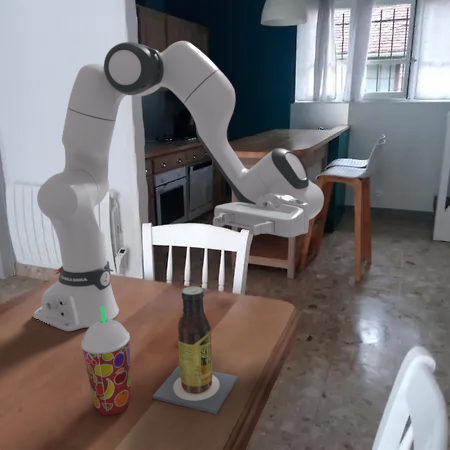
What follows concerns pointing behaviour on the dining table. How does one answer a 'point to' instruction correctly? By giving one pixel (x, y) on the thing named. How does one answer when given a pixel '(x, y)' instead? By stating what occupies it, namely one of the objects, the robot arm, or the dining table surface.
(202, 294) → the sauce bottle
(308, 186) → the robot arm
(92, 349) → the smoothie
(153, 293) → the dining table surface
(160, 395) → the card
